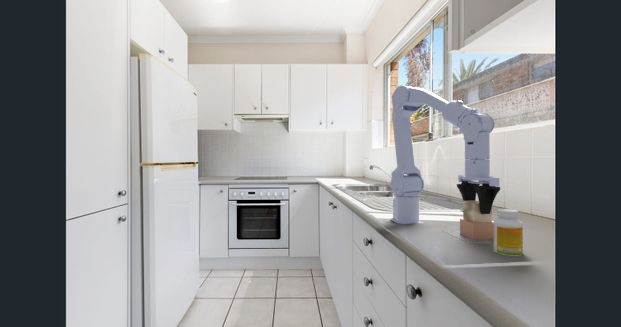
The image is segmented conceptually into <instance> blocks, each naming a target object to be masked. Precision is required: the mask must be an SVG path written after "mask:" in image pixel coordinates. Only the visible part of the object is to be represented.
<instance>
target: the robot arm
mask: <svg viewBox="0 0 621 327" xmlns="http://www.w3.org/2000/svg"><path fill="white" fill-rule="evenodd" d="M391 102H392V103H391V104H392V111H391V117H392V118H391V119H392V129H393V139H394V146H395V147H394V148H395V157H396V168H395V169H393V170H392V172H391V180H390V189H391V192H393V194H394V198H393V200H392V217H391V218H390V221H392V222H394V223H395V224H396V223H398V224H401V225H406V224H407V225H408V224H409V225H410V224H411V225H412V224H424V223H425V222H423V221H421V220H420V196H421V193H422V192H423V190H424V189H425V188H424V187H425V182H424V179H423V177H422V172H421V170H420V169H419V168H418V167H417V166H416V165H415V158H414V150H413V139H412V131H411V130H412V129H411V128H412V127H411V120H410V118H411V117H412V116H413V115H415V114H416V113H418V111H419V110H420V109H422V108H423V107H424V106H425V105H426V106H428V107H430V108H432V109H433V110H436V111H438V112H440V113H441V116H442V119H444V120H445V121H447V122H448V123H451V124H452V125H454V126H456V127H457V128H459V130H460V132H461V133H462V134H463V140H464V174H458V178H457V179H458V181H457V182H458V183H456V187H457V189H458V191H459V194H460V196H461V197H462V201H474V200H476V197H478V200H479V208H480V213H481V214H490V212H491V208H492V209H493V203H494V202H495V199H496V197H497V195H498V193H499V192H500V190H501V187H500V178H499V177H494V176H493V175H492V176H491V174H490V173H491V172H490V171H491V170H490V165H491V164H490V162H491V161H490V159H491V158H490V156H491V155H490V140H491V139H490V134H491V133H492V132H493V130H494V129H495V121H494V118H493V117H492V116H491V115H490V114H488V113H479V112H478V109H477V108H473V107H472V108H471V107H468V106H467V105H465V104H464V101H462V100H451V101H447V100H445V99H444V98H442V97H440V96H439V95H437V94H435V93H433V92H432V91H430V90H428V89H425V88H423V87H413V86H408V85H407V86H406V85H403V84H400V85H399V86H397V87H396V89H395V90H394V91H393V93H392V95H391Z"/></svg>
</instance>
